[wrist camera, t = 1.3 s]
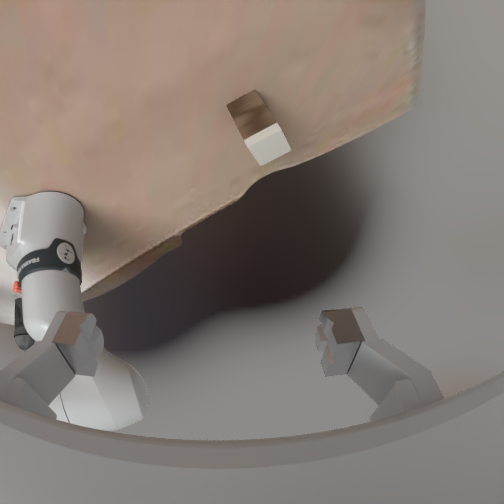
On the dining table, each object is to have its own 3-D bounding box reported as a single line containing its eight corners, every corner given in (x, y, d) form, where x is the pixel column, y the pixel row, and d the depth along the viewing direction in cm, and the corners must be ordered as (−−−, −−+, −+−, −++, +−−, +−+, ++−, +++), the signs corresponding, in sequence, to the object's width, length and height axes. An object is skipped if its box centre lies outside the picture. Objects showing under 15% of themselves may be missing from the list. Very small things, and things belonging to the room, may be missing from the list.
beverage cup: (35, 300, 70) (43, 364, 62) (22, 306, 69) (29, 367, 62) (20, 294, 63) (27, 361, 56) (7, 300, 62) (13, 365, 55)
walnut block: (239, 123, 44) (260, 166, 40) (226, 105, 40) (247, 147, 36) (266, 109, 43) (291, 150, 39) (255, 89, 38) (281, 129, 35)
